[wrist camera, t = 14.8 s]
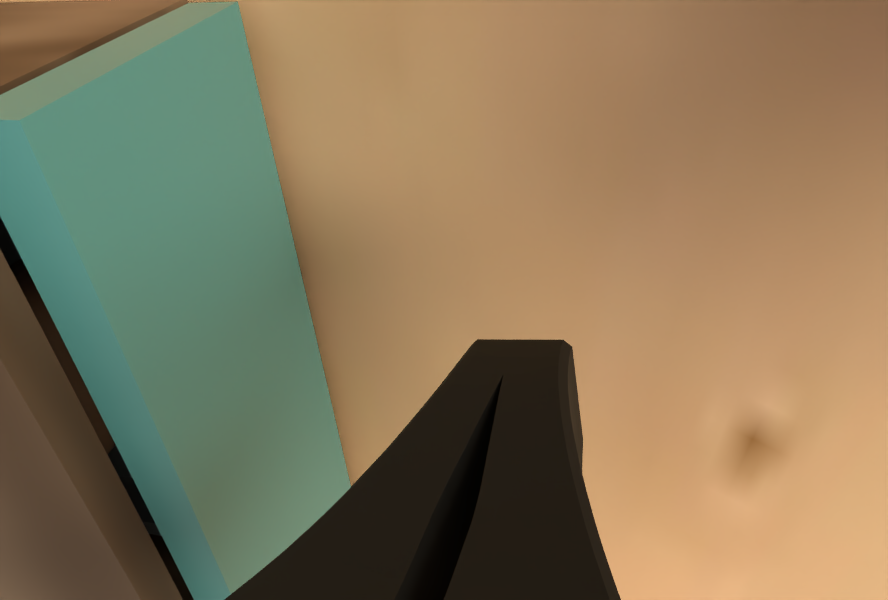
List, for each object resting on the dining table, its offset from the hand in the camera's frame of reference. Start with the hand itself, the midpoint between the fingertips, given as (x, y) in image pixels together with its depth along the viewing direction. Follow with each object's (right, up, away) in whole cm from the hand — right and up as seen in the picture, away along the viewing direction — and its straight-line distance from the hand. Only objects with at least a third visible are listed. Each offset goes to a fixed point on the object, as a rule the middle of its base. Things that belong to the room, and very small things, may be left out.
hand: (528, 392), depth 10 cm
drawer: (-11, +1, +9) cm, 14 cm away
